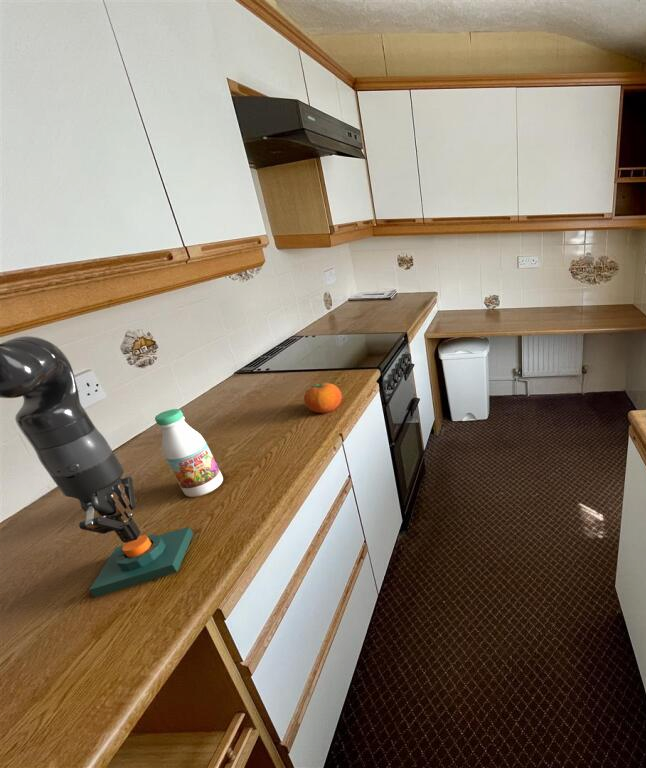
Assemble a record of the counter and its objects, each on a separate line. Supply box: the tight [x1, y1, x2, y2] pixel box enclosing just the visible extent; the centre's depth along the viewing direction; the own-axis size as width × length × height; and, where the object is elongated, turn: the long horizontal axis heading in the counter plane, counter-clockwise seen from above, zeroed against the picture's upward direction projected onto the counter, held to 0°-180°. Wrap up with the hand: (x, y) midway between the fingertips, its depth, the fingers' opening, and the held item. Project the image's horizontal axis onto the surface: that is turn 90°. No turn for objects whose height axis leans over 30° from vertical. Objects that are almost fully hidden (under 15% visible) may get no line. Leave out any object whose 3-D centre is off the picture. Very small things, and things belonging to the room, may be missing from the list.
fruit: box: [303, 382, 343, 414], centre depth 125 cm, size 11×10×8 cm
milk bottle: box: [154, 408, 224, 498], centre depth 91 cm, size 8×8×20 cm
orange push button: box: [122, 534, 152, 558], centre depth 74 cm, size 4×4×2 cm
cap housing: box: [88, 526, 194, 598], centre depth 75 cm, size 12×10×4 cm
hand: (132, 538), depth 73 cm, fingers closed
